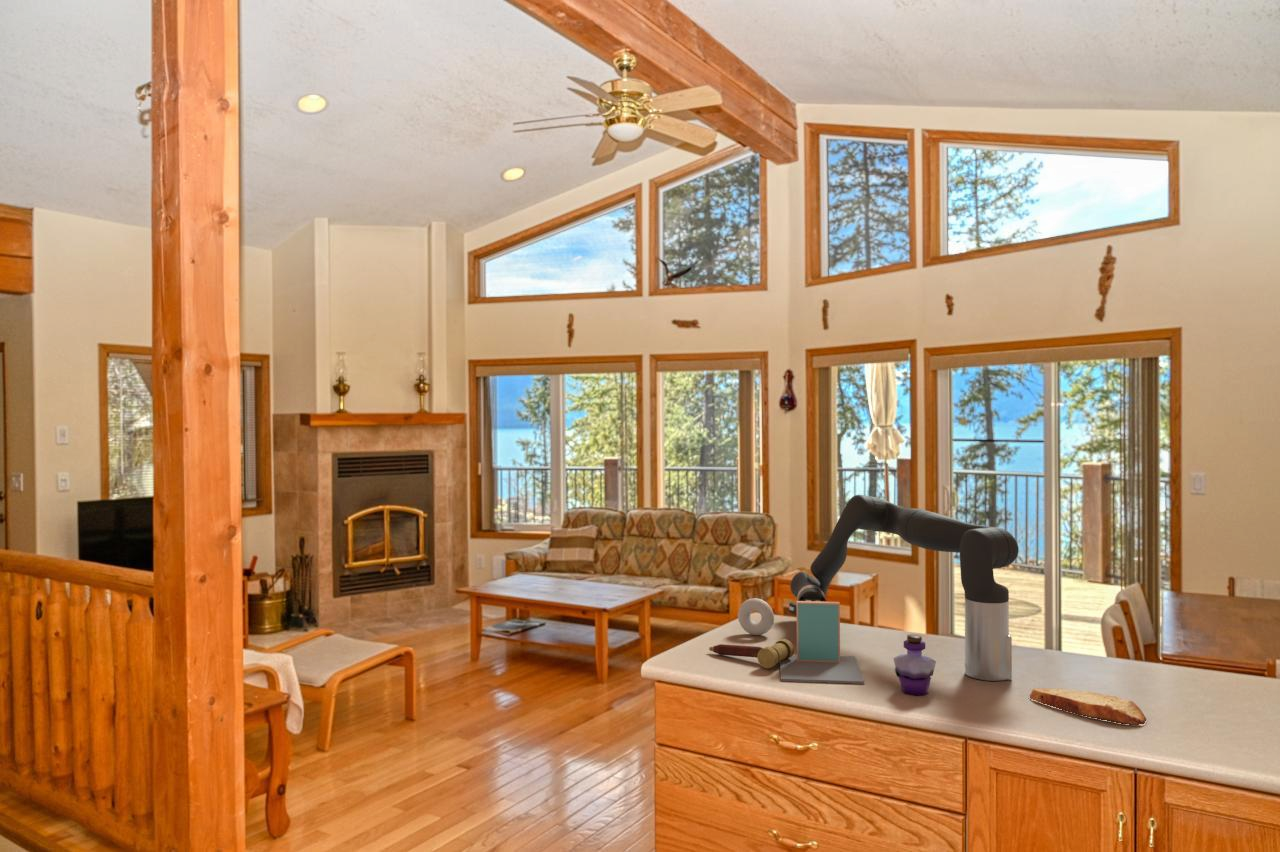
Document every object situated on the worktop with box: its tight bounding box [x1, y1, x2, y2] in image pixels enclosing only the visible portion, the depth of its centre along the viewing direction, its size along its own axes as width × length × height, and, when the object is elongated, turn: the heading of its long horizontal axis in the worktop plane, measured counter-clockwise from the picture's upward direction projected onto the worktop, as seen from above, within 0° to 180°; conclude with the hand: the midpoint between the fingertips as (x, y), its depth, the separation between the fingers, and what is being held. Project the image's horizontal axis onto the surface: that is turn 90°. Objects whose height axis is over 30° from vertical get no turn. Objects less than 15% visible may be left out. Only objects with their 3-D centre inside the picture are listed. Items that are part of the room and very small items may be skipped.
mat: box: [779, 653, 865, 685], centre depth 199 cm, size 18×20×1 cm
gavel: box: [708, 638, 795, 669], centre depth 208 cm, size 21×5×10 cm
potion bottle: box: [892, 634, 937, 697], centre depth 183 cm, size 9×9×12 cm
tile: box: [795, 600, 841, 663], centre depth 204 cm, size 10×2×14 cm, turn 82°
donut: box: [737, 597, 775, 636], centre depth 231 cm, size 10×4×10 cm, turn 65°
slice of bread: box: [1029, 687, 1147, 725], centre depth 171 cm, size 18×18×4 cm
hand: (815, 616), depth 216 cm, fingers closed
